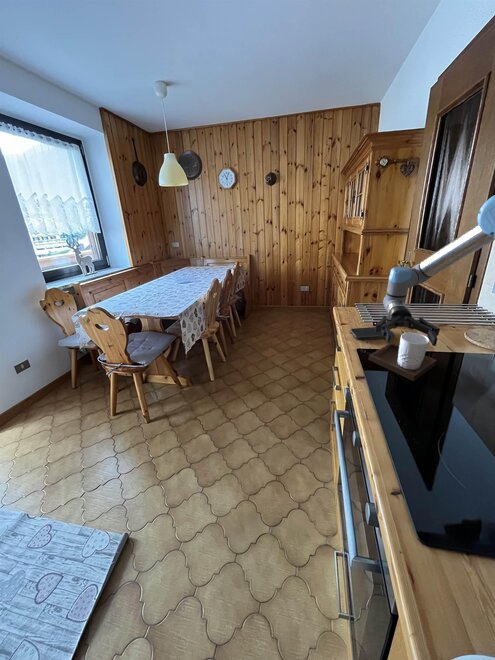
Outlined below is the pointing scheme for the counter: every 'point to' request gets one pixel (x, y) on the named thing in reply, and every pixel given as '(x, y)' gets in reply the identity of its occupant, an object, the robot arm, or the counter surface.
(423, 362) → the tray
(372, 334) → the phone
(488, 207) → the robot arm
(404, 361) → the white cup
